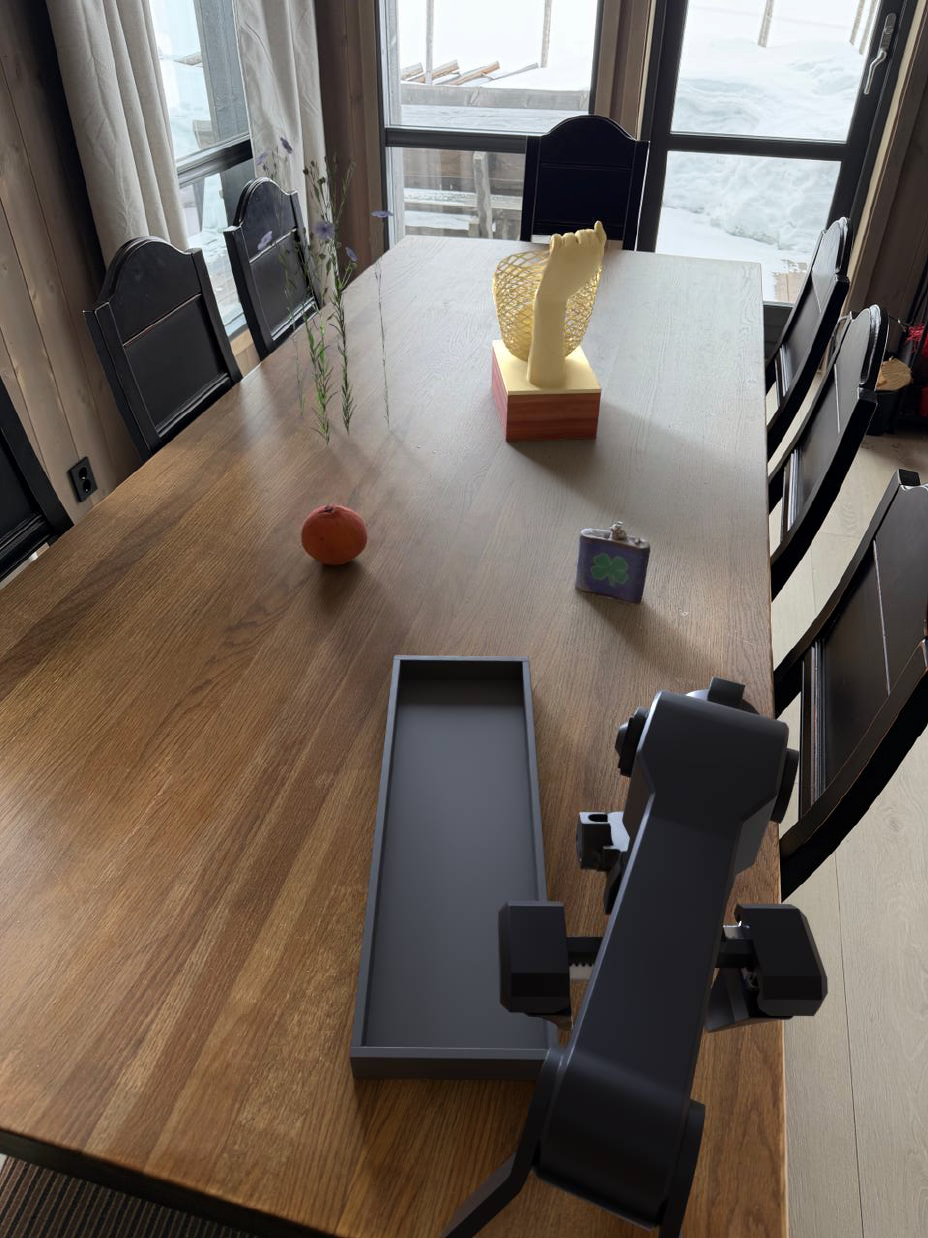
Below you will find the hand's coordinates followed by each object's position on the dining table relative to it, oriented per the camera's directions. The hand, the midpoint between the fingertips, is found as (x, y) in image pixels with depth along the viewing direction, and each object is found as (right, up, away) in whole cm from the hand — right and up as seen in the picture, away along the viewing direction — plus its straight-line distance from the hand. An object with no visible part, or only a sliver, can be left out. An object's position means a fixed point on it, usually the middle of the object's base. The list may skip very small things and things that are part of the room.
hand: (636, 1024), depth 57 cm
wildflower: (-34, +60, +96) cm, 119 cm away
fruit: (-29, +35, +65) cm, 79 cm away
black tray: (-12, +6, +27) cm, 30 cm away
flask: (+8, +30, +59) cm, 66 cm away
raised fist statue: (+2, +64, +102) cm, 121 cm away
